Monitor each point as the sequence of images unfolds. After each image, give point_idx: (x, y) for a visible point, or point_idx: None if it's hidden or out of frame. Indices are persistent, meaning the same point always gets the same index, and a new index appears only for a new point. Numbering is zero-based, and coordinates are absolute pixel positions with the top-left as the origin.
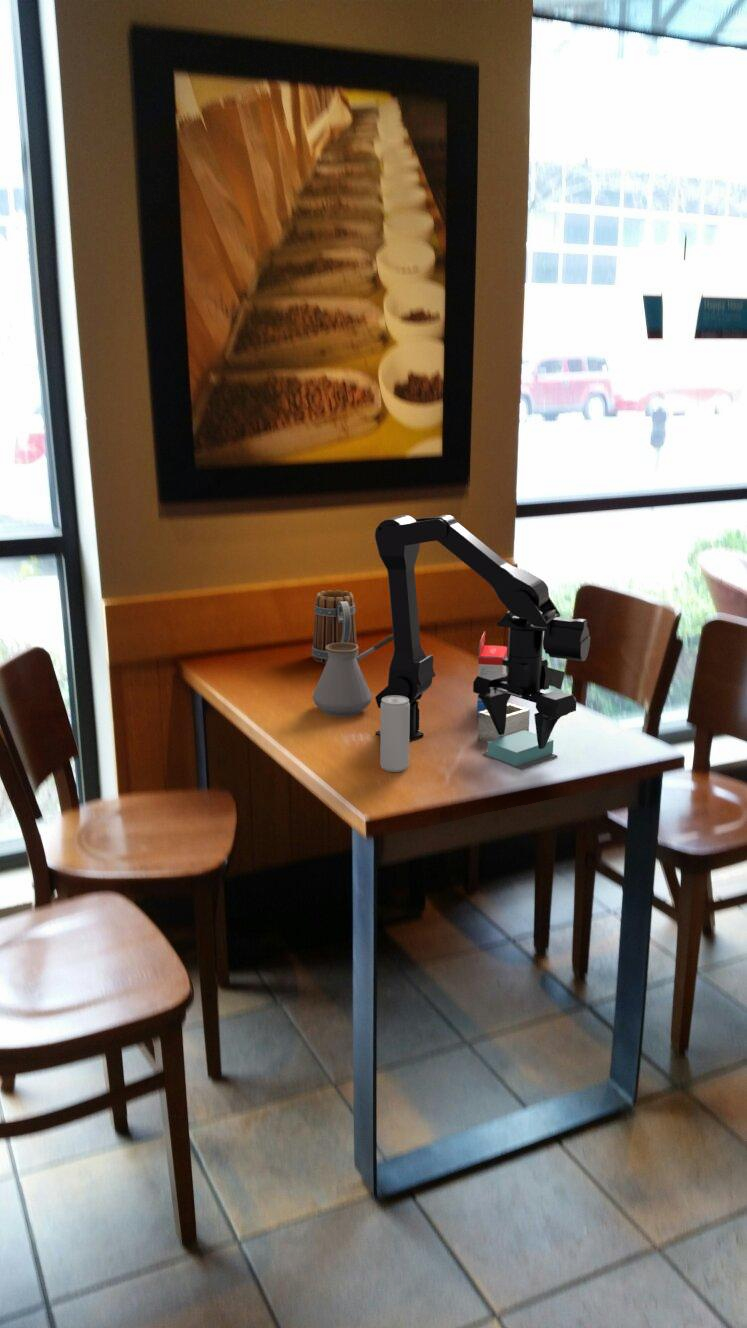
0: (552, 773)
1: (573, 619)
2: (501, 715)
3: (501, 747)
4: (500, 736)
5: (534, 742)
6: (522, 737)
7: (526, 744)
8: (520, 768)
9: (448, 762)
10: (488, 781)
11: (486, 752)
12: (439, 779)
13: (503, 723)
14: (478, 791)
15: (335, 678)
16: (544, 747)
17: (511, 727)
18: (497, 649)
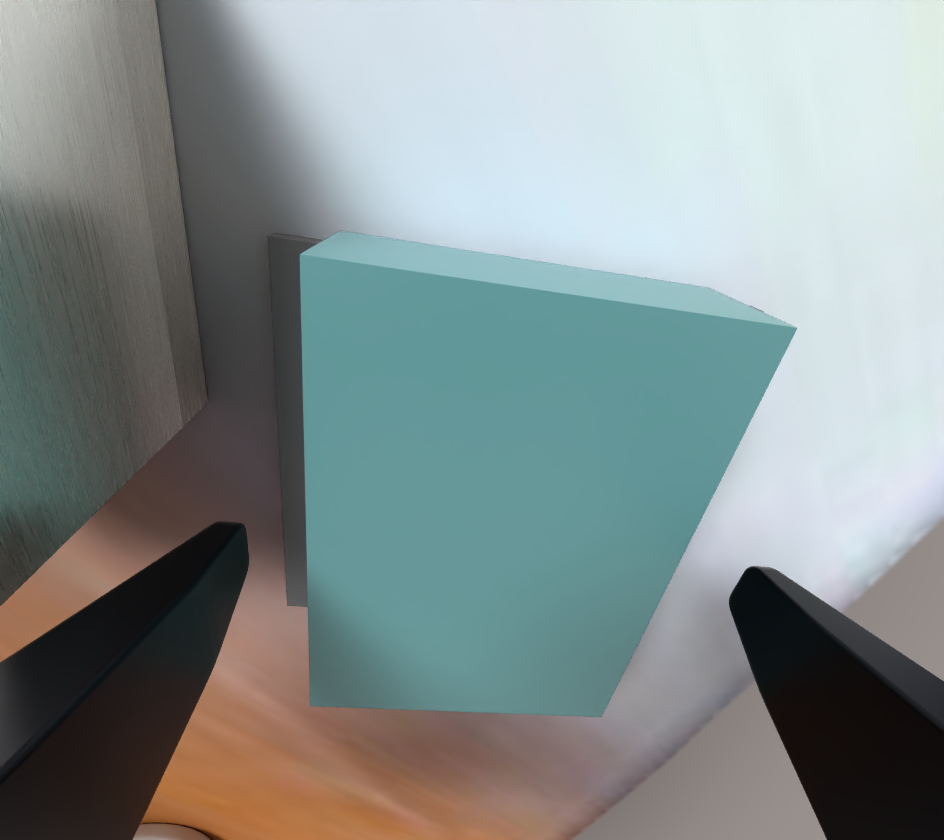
0: (791, 551)
1: None
2: (87, 793)
3: (456, 708)
4: (161, 420)
5: (628, 513)
6: (453, 480)
7: (587, 589)
8: None
9: (252, 731)
10: (543, 754)
11: (294, 587)
12: (377, 821)
13: (180, 637)
14: (563, 809)
15: None
16: (771, 573)
17: (74, 258)
18: None
